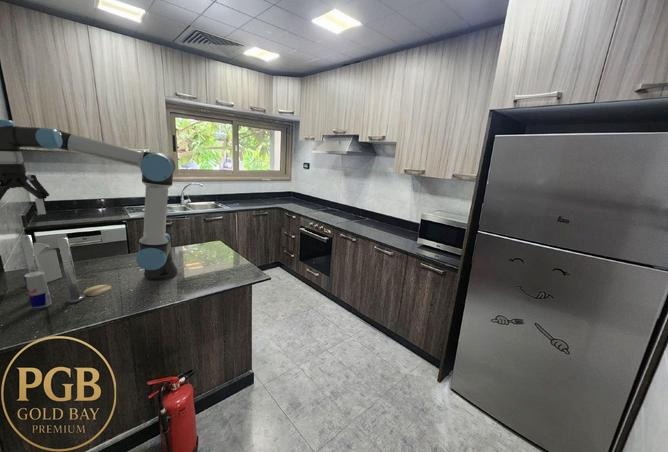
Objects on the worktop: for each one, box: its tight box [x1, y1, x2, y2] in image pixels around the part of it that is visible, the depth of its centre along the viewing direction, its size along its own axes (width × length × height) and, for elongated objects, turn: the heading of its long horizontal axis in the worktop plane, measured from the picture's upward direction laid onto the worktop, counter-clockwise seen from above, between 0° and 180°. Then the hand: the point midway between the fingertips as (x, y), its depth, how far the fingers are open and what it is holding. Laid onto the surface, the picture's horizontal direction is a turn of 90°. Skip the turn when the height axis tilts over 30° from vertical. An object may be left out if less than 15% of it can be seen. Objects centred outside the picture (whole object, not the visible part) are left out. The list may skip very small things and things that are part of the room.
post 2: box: [57, 236, 86, 305], centre depth 114 cm, size 6×6×28 cm
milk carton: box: [33, 242, 63, 283], centre depth 132 cm, size 7×7×19 cm
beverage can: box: [23, 271, 53, 310], centre depth 110 cm, size 6×6×15 cm
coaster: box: [82, 284, 112, 297], centre depth 126 cm, size 10×10×1 cm
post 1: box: [19, 234, 52, 297], centre depth 115 cm, size 6×6×28 cm
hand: (22, 217), depth 107 cm, fingers open, 13 cm apart
